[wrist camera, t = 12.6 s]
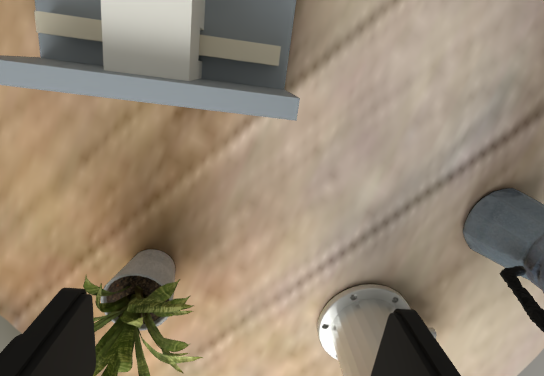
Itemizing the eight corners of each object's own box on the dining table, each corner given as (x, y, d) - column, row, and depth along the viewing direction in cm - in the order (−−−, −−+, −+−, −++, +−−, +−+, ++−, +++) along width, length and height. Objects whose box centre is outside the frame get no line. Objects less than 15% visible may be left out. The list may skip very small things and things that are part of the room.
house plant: (208, 329, 43) (186, 474, 27) (97, 319, 41) (7, 469, 26) (222, 232, 38) (205, 343, 23) (97, 216, 36) (-12, 324, 21)
